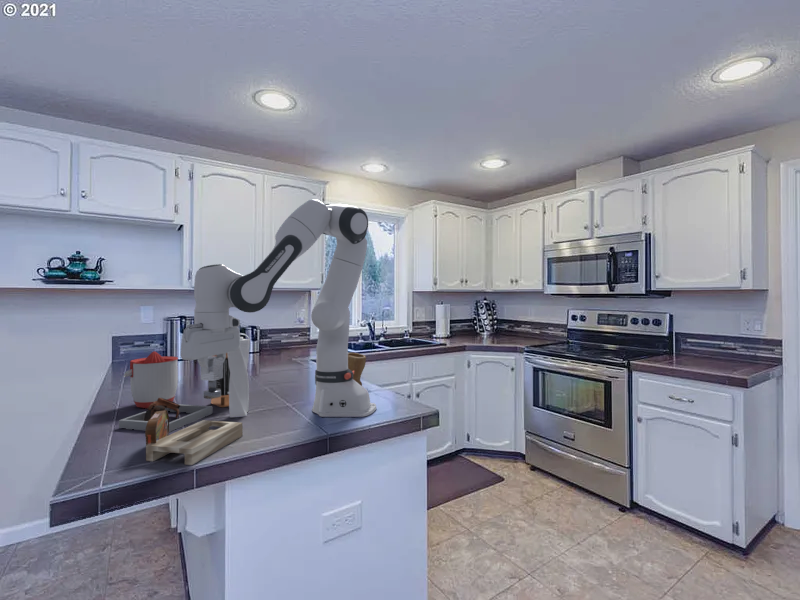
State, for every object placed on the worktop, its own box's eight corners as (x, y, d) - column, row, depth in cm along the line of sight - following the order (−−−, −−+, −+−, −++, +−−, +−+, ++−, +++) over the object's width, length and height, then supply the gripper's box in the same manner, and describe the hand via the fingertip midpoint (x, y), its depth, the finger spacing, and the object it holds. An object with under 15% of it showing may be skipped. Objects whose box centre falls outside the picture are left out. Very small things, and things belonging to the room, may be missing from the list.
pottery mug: (144, 419, 131) (158, 396, 134) (172, 430, 133) (186, 406, 136) (134, 420, 120) (150, 395, 123) (165, 432, 122) (180, 406, 125)
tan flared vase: (368, 389, 169) (368, 354, 168) (340, 391, 165) (340, 355, 165) (362, 382, 183) (362, 350, 183) (336, 383, 180) (336, 351, 180)
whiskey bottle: (236, 397, 156) (235, 317, 156) (249, 402, 150) (248, 318, 149) (210, 403, 148) (208, 318, 148) (222, 408, 142) (220, 319, 142)
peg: (224, 395, 112) (224, 356, 112) (214, 399, 108) (213, 359, 108) (210, 394, 113) (210, 356, 113) (200, 398, 109) (199, 358, 109)
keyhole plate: (242, 435, 113) (242, 422, 113) (191, 465, 94) (191, 449, 93) (203, 432, 116) (203, 420, 116) (146, 460, 96) (145, 445, 96)
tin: (157, 457, 98) (158, 423, 98) (142, 458, 97) (143, 424, 97) (169, 435, 112) (170, 406, 112) (157, 436, 111) (158, 406, 111)
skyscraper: (249, 417, 131) (248, 333, 130) (225, 419, 129) (224, 333, 128) (252, 410, 138) (251, 331, 138) (229, 412, 136) (228, 331, 136)
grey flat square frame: (212, 413, 135) (212, 406, 135) (169, 432, 117) (168, 423, 117) (167, 410, 139) (167, 403, 139) (119, 428, 120) (118, 420, 120)
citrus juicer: (121, 404, 147) (120, 351, 147) (174, 396, 158) (173, 347, 158) (126, 414, 135) (125, 356, 135) (183, 404, 147) (182, 351, 146)
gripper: (195, 325, 99) (195, 379, 99) (243, 320, 119) (244, 365, 119) (173, 324, 101) (174, 378, 101) (225, 319, 121) (225, 364, 121)
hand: (212, 371), depth 110 cm, fingers closed on peg, 4 cm apart
